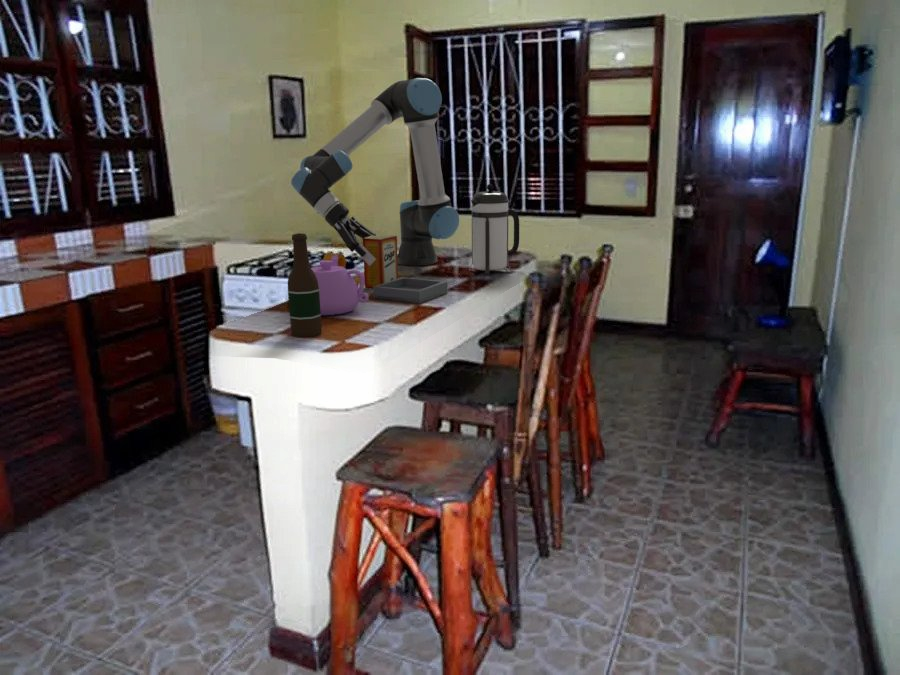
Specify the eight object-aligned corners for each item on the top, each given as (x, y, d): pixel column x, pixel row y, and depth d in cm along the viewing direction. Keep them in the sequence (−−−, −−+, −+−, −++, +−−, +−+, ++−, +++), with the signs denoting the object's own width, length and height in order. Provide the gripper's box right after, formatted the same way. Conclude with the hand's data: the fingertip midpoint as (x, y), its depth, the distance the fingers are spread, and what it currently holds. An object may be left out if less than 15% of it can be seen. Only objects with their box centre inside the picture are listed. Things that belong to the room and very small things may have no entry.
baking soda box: (381, 282, 228) (379, 233, 224) (398, 284, 225) (396, 234, 221) (365, 288, 220) (362, 237, 215) (382, 289, 217) (380, 238, 212)
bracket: (338, 297, 207) (336, 257, 204) (319, 295, 211) (316, 255, 207) (359, 290, 216) (357, 252, 213) (340, 288, 220) (338, 250, 216)
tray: (403, 288, 219) (402, 277, 218) (447, 292, 211) (447, 281, 210) (373, 298, 205) (372, 286, 204) (419, 303, 198) (419, 291, 197)
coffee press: (509, 276, 234) (510, 185, 226) (463, 275, 238) (462, 185, 230) (519, 267, 250) (520, 182, 242) (475, 266, 254) (475, 182, 246)
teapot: (375, 300, 203) (373, 252, 199) (364, 318, 182) (362, 266, 179) (300, 300, 204) (296, 253, 200) (281, 319, 183) (276, 267, 179)
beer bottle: (285, 337, 166) (276, 236, 159) (297, 328, 173) (289, 231, 166) (316, 338, 164) (309, 236, 158) (327, 329, 172) (320, 231, 165)
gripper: (339, 214, 232) (384, 260, 233) (308, 223, 208) (358, 274, 209) (353, 198, 229) (399, 245, 230) (324, 205, 206) (374, 257, 207)
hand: (380, 259), depth 220 cm, fingers open, 13 cm apart
